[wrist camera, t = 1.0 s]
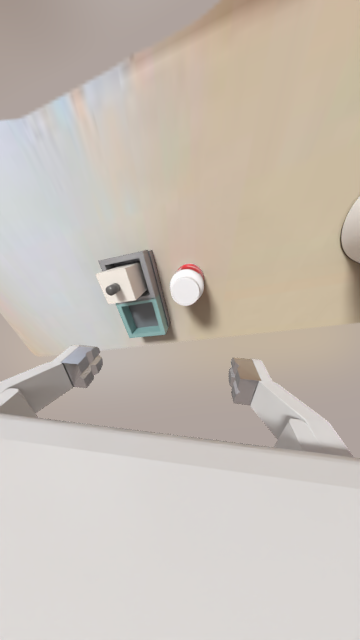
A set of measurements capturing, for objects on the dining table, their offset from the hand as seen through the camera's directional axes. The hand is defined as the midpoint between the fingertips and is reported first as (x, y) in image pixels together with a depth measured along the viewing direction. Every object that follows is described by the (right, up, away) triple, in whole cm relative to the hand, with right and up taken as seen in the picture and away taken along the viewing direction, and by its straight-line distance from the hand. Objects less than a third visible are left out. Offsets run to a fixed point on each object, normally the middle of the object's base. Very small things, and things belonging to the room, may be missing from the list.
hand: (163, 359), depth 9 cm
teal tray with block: (-8, +9, +29) cm, 31 cm away
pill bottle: (+3, +12, +25) cm, 28 cm away
